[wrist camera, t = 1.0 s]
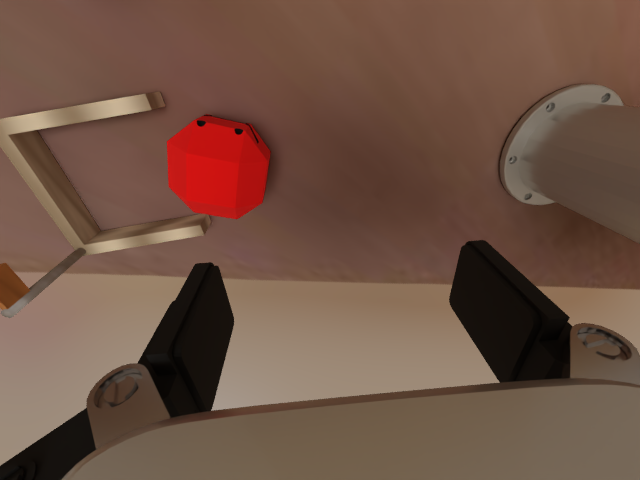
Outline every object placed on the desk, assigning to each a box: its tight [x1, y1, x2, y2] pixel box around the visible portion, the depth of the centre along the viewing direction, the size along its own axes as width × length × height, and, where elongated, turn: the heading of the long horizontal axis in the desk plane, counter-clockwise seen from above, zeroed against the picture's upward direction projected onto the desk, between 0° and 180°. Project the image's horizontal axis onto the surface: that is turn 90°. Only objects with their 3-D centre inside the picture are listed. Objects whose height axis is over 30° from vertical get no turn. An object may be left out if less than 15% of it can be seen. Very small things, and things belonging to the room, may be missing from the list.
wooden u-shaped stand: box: [0, 92, 211, 318], centre depth 24 cm, size 13×13×12 cm
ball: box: [167, 114, 271, 219], centre depth 26 cm, size 8×8×8 cm
